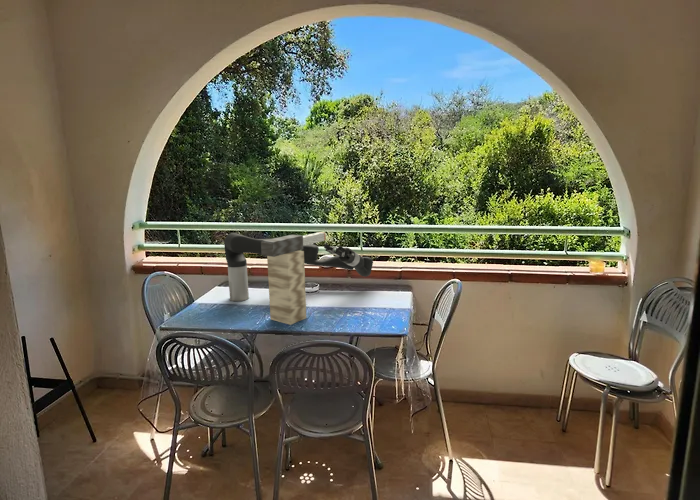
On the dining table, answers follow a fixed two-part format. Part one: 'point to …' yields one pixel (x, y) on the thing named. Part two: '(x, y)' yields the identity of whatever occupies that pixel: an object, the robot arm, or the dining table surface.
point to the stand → (286, 278)
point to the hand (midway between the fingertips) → (331, 246)
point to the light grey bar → (313, 238)
